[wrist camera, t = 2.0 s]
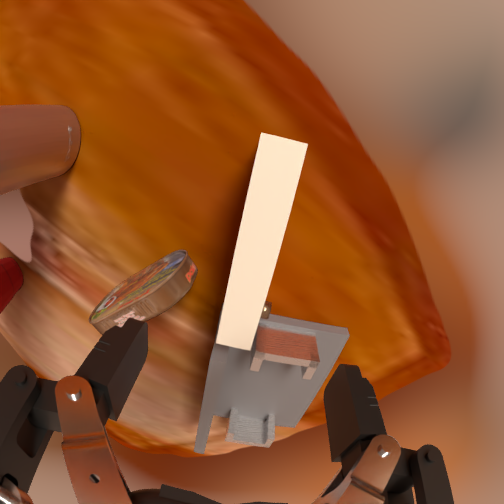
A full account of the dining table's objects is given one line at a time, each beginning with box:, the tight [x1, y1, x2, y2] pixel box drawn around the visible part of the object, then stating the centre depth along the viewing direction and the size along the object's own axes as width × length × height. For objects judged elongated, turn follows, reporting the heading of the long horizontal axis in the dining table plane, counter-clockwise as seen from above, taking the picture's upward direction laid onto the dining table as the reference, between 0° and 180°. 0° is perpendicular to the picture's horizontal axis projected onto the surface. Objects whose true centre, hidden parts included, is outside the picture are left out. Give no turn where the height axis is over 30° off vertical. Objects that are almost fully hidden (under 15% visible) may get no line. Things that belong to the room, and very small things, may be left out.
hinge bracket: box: [194, 304, 350, 454], centre depth 33 cm, size 16×22×10 cm
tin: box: [89, 250, 198, 335], centre depth 29 cm, size 15×3×8 cm, turn 119°
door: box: [216, 133, 308, 351], centre depth 24 cm, size 4×17×10 cm, turn 167°
